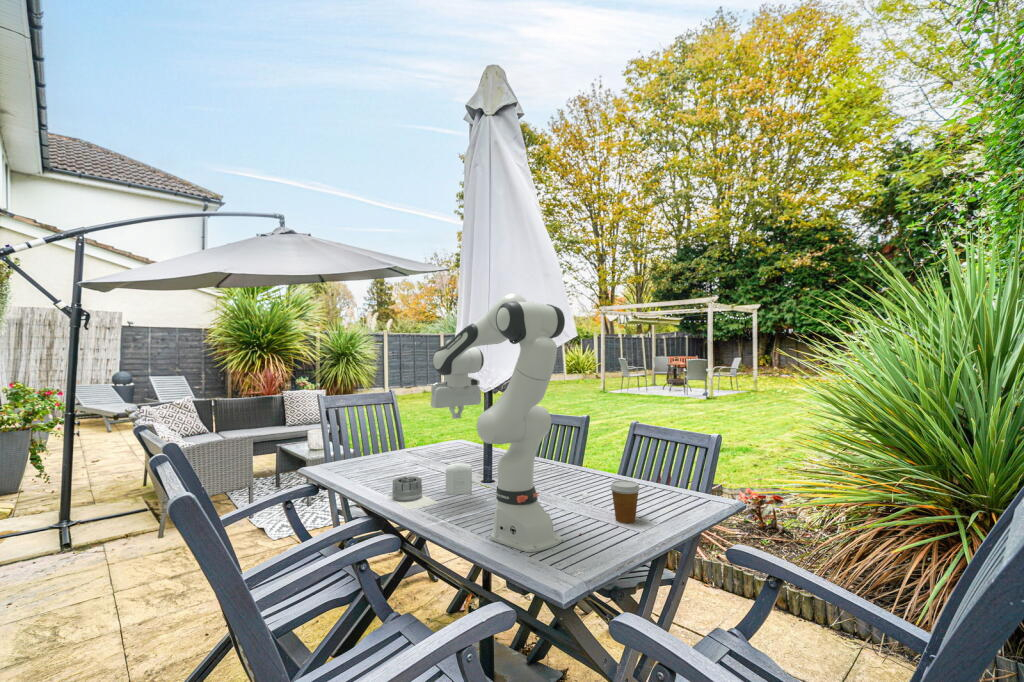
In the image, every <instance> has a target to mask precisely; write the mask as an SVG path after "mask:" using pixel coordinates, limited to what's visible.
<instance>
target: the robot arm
mask: <svg viewBox="0 0 1024 682" xmlns="http://www.w3.org/2000/svg"><path fill="white" fill-rule="evenodd" d="M565 325H566V319H565V314H564V313H563V310H562V309H560V307H557V306H556V305H553V304H546V303H545V304H544V303H539V302H534V301H527V299H526V298H525V297H523V295H521V294H518V293H511V292H510V293H508V294H505V296H503V297H502V298H500V299H499V300H498V301H497V302H496V303H494V305H493V306H491V308H490V309H489V310H488V311H487V312H486V313H485V314H483V315H482V316H481V317H480V318H479V319H477V320H476V321H473V323H471V324H469V325H467V326H466V327H464V328H463V329H462V330H461V331H460V332H458V333H457V334H456V335H455V336H454V337H453V338H448V340H446V342H445V345H442V346H440V347H438V348H437V349H436V351H434V354H433V357H432V366H433V368H434V370H435V371H436V373H438V374H440V375H441V376H443V377H444V381H442V382H435V383H433V384H432V385H431V395H430V396H431V397H430V406H431V407H432V408H433V409H444V408H449V412H450V413H451V418H452V419H453V420H455V419H456V420H457V419H461V418H462V413H463V411H464V409H465V407H466V406H475V405H480V404H481V403H482V390H481V387H480V384H481V382H480V379H477V378H473V377H472V376H471V377H470V376H469V374H476V373H479V372H480V371H481V370H482V368H483V367H484V363H485V362H484V361H485V358H484V353H483V352H482V350H481V349H479V347H480V346H481V347H482V346H490V345H498V344H499V345H500V344H502V343H504V342H506V341H509V343H510V344H512V345H517V344H519V349H520V350H519V354H518V358H517V360H516V363H515V366H514V369H513V372H512V375H511V378H510V380H509V383H508V385H507V387H506V389H505V391H504V392H503V393H502V394H501V395H500V397H499V398H498V399H497V401H495V402H494V403H493V405H491V406H490V407H489V408H487V409H486V410H485V411H483V412H481V413H480V415H479V417H478V419H477V421H476V431H477V434H478V436H479V438H480V439H481V440H482V442H484V443H485V444H489V445H490V444H491V445H504V444H505V445H506V444H510V445H509V447H508V449H507V450H506V452H505V453H504V454H503V455H502V456H501V457H500V458H499V460H498V462H497V486H496V491H495V495H496V497H495V498H496V500H497V502H496V506H495V509H494V514H493V524H492V525H493V528H492V533H491V534H490V537H489V539H490V541H494V542H496V543H499V544H502V545H504V546H508V547H510V548H513V549H516V550H520V551H522V552H525V553H535V552H542V551H545V550H548V549H551V548H553V547H556V546H557V545H559V544H561V543H562V542H563V537H562V536H561V535H559V534H557V533H556V532H555V530H554V522H553V518H552V517H551V515H550V514H549V512H548V513H547V512H546V510H545V509H544V508H543V506H542V505H541V504H540V503H539V500H538V497H540V495H539V494H540V492H537V491H536V487H535V486H534V473H535V472H534V467H535V465H534V464H535V458H536V454H537V451H538V449H539V447H540V444H541V443H542V441H543V439H544V438H545V437H546V436H547V435H548V434H549V432H550V430H551V427H552V416H551V415H550V412H549V411H548V409H547V408H546V407H544V406H540V405H538V404H540V403H541V401H542V400H543V399H544V397H545V395H546V392H547V389H548V386H549V384H550V382H551V378H552V376H553V372H554V369H555V364H556V360H557V354H558V346H557V344H556V342H555V341H554V340H553V339H554V338H558V337H559V336H561V335H562V333H563V331H564V329H565ZM456 407H457V409H458V410H457V412H455V410H456Z"/></svg>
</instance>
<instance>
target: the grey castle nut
mask: <svg viewBox="0 0 1024 682" xmlns="http://www.w3.org/2000/svg"><path fill="white" fill-rule="evenodd" d="M405 477H406V476H401V477H397V478H394V479H393V480H392V495H391V496H392V499H393V500H394V501H398V502H410V501H416V500H419V499H421V498H422V495H423V483H422V481H423V480H422V479H423V478H421V477H419V476H411V475H410V477H413V478H414V482H407V483H403V482H401V478H405ZM394 501H393V502H394Z"/></svg>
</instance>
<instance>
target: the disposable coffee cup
mask: <svg viewBox="0 0 1024 682" xmlns="http://www.w3.org/2000/svg"><path fill="white" fill-rule="evenodd" d="M609 487H610V490H611V495H612V501H613V510H614V516H615V520H616V521H617V522H619V523H622V524H632V523H635V522H636V519H637V518H636V516H637V507H638V500H639V499H638V498H639V491H640V489H641V488H640V487H641V486H639V483H638V482H636V481H633V480H626V479H625V480H624V479H619V480H617V479H616V480H614V481H611V485H610V486H609Z"/></svg>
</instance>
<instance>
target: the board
mask: <svg viewBox="0 0 1024 682" xmlns="http://www.w3.org/2000/svg"><path fill="white" fill-rule="evenodd" d="M386 498H387V499H389V500H391V501H392V502H394V503H396V504H398V505H399V506H401V507H403V508H404V509H406V510H408V511H410V510H414V509H419V508H423V507H427V506H432V505H436V504H439V501H436V500H434V499H432V498H429V497H428V496H426V495H423V494H422V498H421V499H419V500H416V501H410V502H398V501H394V500H393V499H392V495H391V496H386Z"/></svg>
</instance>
